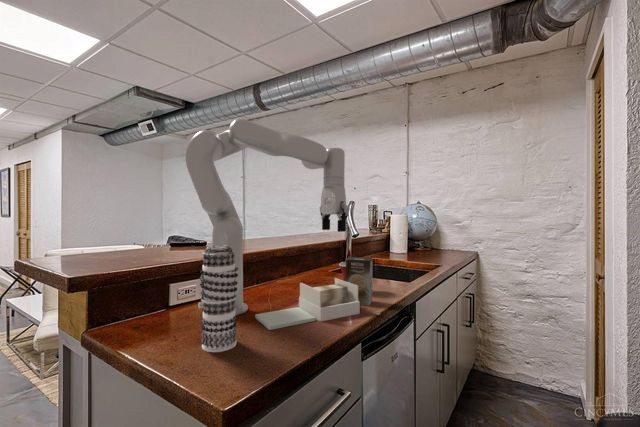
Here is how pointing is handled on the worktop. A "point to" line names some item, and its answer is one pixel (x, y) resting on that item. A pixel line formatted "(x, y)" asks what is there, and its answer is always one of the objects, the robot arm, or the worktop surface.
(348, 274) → the coffee box
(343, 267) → the plastic cup
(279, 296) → the worktop surface
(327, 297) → the birch box
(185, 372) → the worktop surface
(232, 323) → the decorative candle
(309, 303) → the carton
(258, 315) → the sage board
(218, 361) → the worktop surface
